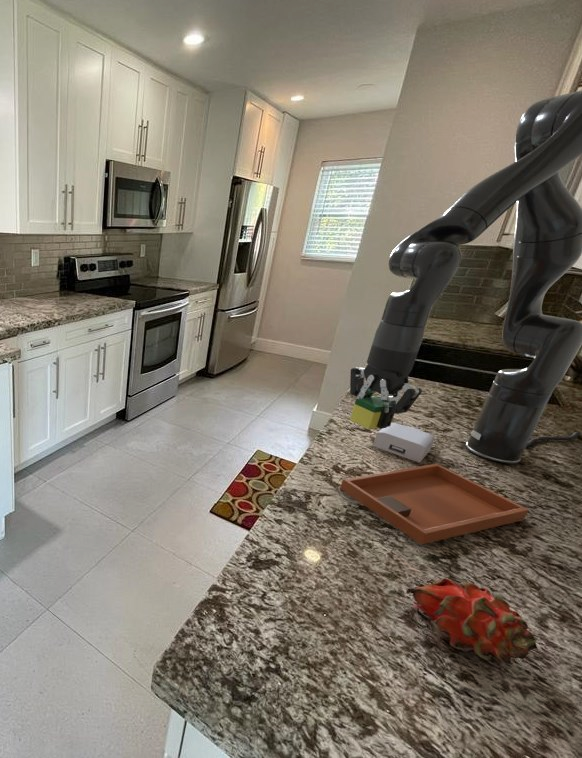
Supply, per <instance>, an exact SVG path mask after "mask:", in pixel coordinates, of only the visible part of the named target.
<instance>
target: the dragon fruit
mask: <svg viewBox="0 0 582 758" xmlns="http://www.w3.org/2000/svg"><path fill="white" fill-rule="evenodd" d="M405 594H406V595H410V594H412V597H413V598H414V601H415V603H417V604H414V605H413V609H414V611H416V614H417V615H418V616H420V617H421V620H423V621H425V623H427V624H428V625H431V627H430V628H431V632H432V633H434V634H439V635H442V632H446V633H447V634H448V635H449V636H450V641H449V645H450V647H453V648H454V649H456V650H460V651H463V652H469V651H473V653H474V654H476V655H478V657H480V658H482V659H484V660H486V661H489V660H490V659H491V658H492V655H493V656H494V657H495V658H496V659H498V660H499V661H500V662H502V663H503V664H505V665H509V666H513V665H514V663H513V662H512V661H511V659H520V660H524V659H525V658H527V656H529V653H530V652H529V651H533V650H537V649H538V646H537V639H536V638H535V635H534V634H533V633H532V632H531V630H528V629H529V626H528V624H527V622H526V621H525V620H524V619H523V617H522V616H521V615H520V613H519V612H518V611H516V610H511V607H510V604H509V603H508V601H506V600H505V599H504V598H503V597H502V596H501V595H499V594H498V593H492V592H491V593H490V591H489V590H488V588H485V587H479V586H478V585H477V584H475V583H473V582H468V581H461V582H460V583H459V582H457V581H455V580H453V579H450V578H447V577H446V578H442V579H439V580H438V581H436V582H433V583H428V584H425V585H424V584H423V585H420V586H415V587H411V588H406V592H405ZM420 611H422V612H420ZM429 618H430V619H429ZM458 645H465V646H458ZM487 654H488V655H487Z"/></svg>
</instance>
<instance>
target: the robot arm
mask: <svg viewBox="0 0 582 758" xmlns="http://www.w3.org/2000/svg"><path fill="white" fill-rule="evenodd" d="M514 154H515V155H514V156H515V157H514V158H515V161H514V162H513V163H512V162H511V164H509V165H507V166H505V167H503V168H502V169H500V170H498V171H496V172H495V173H493V174H491V175H489V176H488V177H486V178H483V179H482V180H481V181H479V182H478V183H477V184H475V185H473V186H472V187H471V188H469V189H467V190H466V192H465V193H463V194H462V195H461V196H460V197H459V198H458V199H456V201H455V202H454V203H452V205H451V206H449V207H448V208H447V209H446V210H445V211H444V212H443V213H442V214H441V215H440V216H438V218H437V217H436V219H434V220H432V221H430V222H429V223H426V224H425V225H424V226H423V227H421V228H420V229H418V230H416V231H415V232H413V233H412V234H410V235H408V236H407V237H406V238H404V239H403V240H402V241H400V243H399V244H398V245H397V246H396V247H395V248H394V249H393V250H392V252H391V254H390V256H389V258H388V270H389V271H390V272H391V274H393V275H394V276H396V277H399V278H403V279H404V278H405V279H411V280H415V281H414V282H413V283H412V285H411V286H410V288H409V289H408V290H400V291H394V292H392V293H391V294H390V295H389V296H388V298H387V300H386V303H385V306H384V309H383V313H382V315H381V319H380V322H379V324H378V326H377V328H376V331H375V333H374V338H373V340H372V343H371V347H370V350H369V353H368V356H367V360H366V366H365V367H352V368H350V375H349V376H350V383H349V394H350V395H351V396H354V397H355V398H356V399H360V398H370V397H373V395H374V394H376V393H378V394H379V395H380V398H381V401H383V411H382V412H381V415H380V418H379V421H378V424H377V427H378V428H377V429H380V430H381V429H383V428H386V427H389V426H390V425H391V422H392V423H393V420H394V417H395V415H396V414H397V415H398V414H403V413H404V414H405V413H407V412H408V411H409V410H410V409H411V407H412V406H413V405H414V404H415V402H416V401H417V399H418V398H419V397H420V396H421V394H422V393H423V390H422V388H420V387H414V386H413V385H411V384H410V383H409V381H410V380H409V375H410V374H411V372H412V371H413V368H414V365H415V362H416V359H417V357H418V353H419V351H420V348H421V345H422V342H423V340H424V335H425V334H424V333H425V329H426V326H427V323H428V320H429V317H430V314H431V312H432V308H433V306H434V304H435V303H436V301H437V300H438V299H439V297H440V296H441V294H442V293H443V291H444V290H445V289H446V287H447V286H448V284H449V283H450V282H451V281H452V279H453V278H454V277H455V275H456V273H457V272H458V270H459V268H460V265H461V261H462V252H461V249H460V247H459V246H462V245H466V244H470V243H472V242H473V241H475V240H476V239H477V238H479V237H480V236H481V235H482V234H483V233H484V232H485V231H486V230H487V229H489V228H490V227H491V226H492V225H493V224H494V223H495V222H496V221H497V220H498V219H499V218H501V217H502V216H503V215H504V214H505V213H506V212H507V211H508V210H510V208H512V206H513V205H515V204H516V217H515V229H514V236H513V247H512V248H513V249H512V270H511V271H512V272H511V281H510V290H509V297H508V301H507V308H506V310H505V311H506V312H505V316H504V321H503V325H502V331H501V344H502V347H503V348H504V349H505V350H506V351H508V352H509V353H512V354H515V355H518V356H524V357H527V358H530V359H533V360H532V362H531V363H530V365H529V366H528V367H525V368H504V369H500V370H499V371H497V373H496V375H495V377H494V379H493V382H492V384H491V386H490V388H489V391H488V394H487V395H486V398H485V400H484V403H483V405H482V407H481V410H480V412H479V415H478V417H477V420H476V421H475V424H474V426H473V428H472V431H471V433H470V436H469V438H468V440H467V442H466V443H465V448H466V449H467V450H468V451H469V452H471V453H472V454H475V455H477V456H478V457H481V458H484V459H486V460H489V461H493V462H496V463H501V464H508V465H515V464H516V465H517V464H519V463H520V461H521V459H522V456H523V454H524V452H525V450H526V448H527V447H530V446H532V445H533V444H534V443H536V442H538V441H573V440H575V439H576V438H580V437H581V433H580V432H579V431H575V432H573V434H571V435H569V436H537V437H533V438H531V437H532V436H533V434H534V431H535V429H536V427H537V425H538V423H539V421H540V419H541V417H542V415H543V413H544V411H545V409H546V406H547V405H548V402H549V400H550V399H551V396H552V394H553V392H554V390H555V388H556V387H557V386H558V384H560V382H561V381H562V380H563V379H564V376H565V375H566V373H567V372H568V370H569V368H570V366H571V365H572V363H573V361H574V359H575V358H576V356H577V355H578V352H579V351H580V349H581V348H582V322H581V321H579V320H576V319H571V318H565V317H559V316H554V315H547V314H543V310H542V308H543V301H544V298H545V295H546V293H547V292H548V290H549V289H550V288H551V287H552V286H553V285H554V284H555V283H556V282H557V281H558V280H560V279H561V277H563V276H564V275H565V274H567V272H568V271H569V270H571V268H572V267H574V265H575V264H576V263H577V262H578V261H579V259H580V258H581V256H582V207H581V205H580V203H579V202H578V201H577V200H576V198H575V197H574V196H573V194H572V193H571V192H570V190H568V188H567V187H566V184H564V182H563V180H562V177H561V175H560V171H562V170H563V169H564V168H566V167H567V166H569V164H571V163H572V162H574V161H575V160H577V159H578V158H580V157H581V156H582V90H577V91H574V92H573V91H572V92H569V93H564V94H562V95H555V96H550V97H548V98H544V99H541V100H538V101H536V102H534V103H532V104H531V105H530V106H529V107H528V108H527V109H526V110H525V111H524V112H523V114H522V116H521V117H520V120H519V121H518V125H517V128H516V132H515V138H514ZM365 380H366V381H365ZM401 390H402V392H401V395H402V396H401V397H400V391H401ZM393 416H394V417H393ZM392 419H393V420H392Z"/></svg>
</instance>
